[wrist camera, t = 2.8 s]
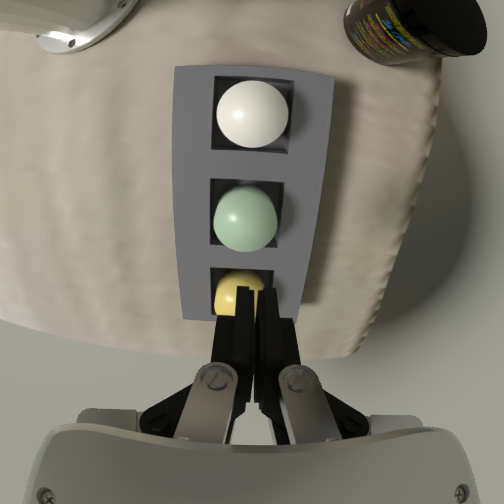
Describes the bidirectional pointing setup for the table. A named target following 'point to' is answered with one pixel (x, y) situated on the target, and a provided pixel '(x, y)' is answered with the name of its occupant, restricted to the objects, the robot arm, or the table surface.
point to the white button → (252, 114)
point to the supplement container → (415, 29)
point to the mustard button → (235, 289)
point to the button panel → (246, 181)
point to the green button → (245, 218)
